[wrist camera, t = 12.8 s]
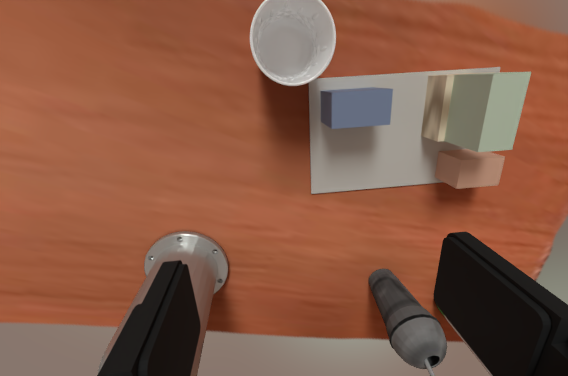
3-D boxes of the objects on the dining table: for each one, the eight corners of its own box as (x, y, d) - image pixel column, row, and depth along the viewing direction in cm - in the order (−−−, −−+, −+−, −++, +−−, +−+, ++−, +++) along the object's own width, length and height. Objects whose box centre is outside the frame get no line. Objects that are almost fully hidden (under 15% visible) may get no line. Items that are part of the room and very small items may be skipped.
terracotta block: (472, 173, 43) (498, 185, 39) (434, 176, 43) (456, 188, 38) (477, 148, 42) (505, 156, 37) (438, 151, 41) (461, 160, 37)
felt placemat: (476, 178, 44) (477, 179, 44) (311, 193, 42) (311, 193, 42) (499, 67, 38) (500, 67, 38) (308, 79, 36) (308, 79, 36)
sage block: (473, 138, 37) (512, 149, 31) (444, 141, 37) (477, 152, 31) (486, 72, 34) (531, 71, 28) (454, 74, 34) (493, 74, 28)
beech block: (461, 132, 41) (481, 138, 37) (420, 135, 40) (437, 141, 37) (471, 72, 38) (494, 72, 34) (428, 75, 37) (447, 75, 34)
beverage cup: (402, 290, 51) (487, 412, 32) (363, 300, 51) (425, 428, 32) (399, 257, 48) (489, 370, 29) (358, 268, 48) (422, 387, 29)
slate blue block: (372, 87, 37) (392, 88, 32) (370, 118, 39) (390, 124, 33) (320, 90, 37) (331, 92, 31) (320, 121, 38) (331, 129, 33)
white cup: (327, 51, 35) (353, 41, 26) (283, 97, 37) (292, 103, 28) (284, -3, 33) (295, -35, 24) (238, 49, 34) (231, 38, 25)
